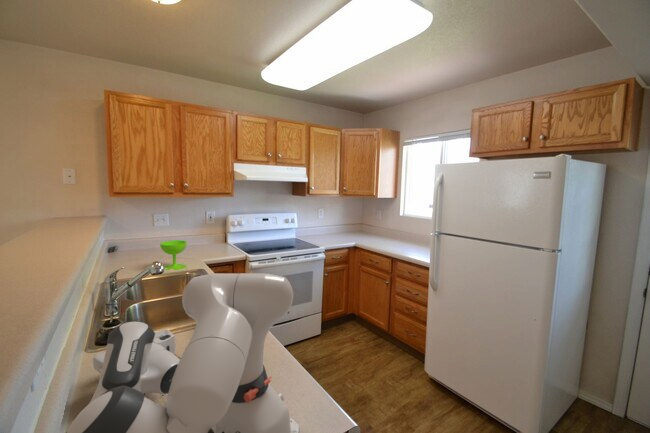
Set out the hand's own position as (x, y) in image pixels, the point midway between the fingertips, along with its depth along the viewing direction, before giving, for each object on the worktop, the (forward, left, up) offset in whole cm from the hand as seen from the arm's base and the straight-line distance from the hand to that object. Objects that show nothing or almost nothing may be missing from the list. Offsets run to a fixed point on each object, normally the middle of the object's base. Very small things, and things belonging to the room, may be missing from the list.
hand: (125, 341), depth 93 cm
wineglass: (+91, -68, -10) cm, 114 cm away
